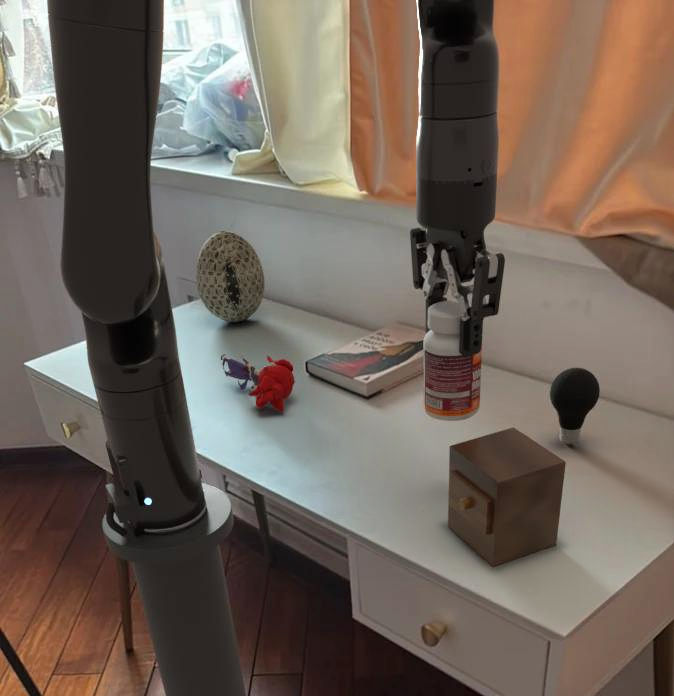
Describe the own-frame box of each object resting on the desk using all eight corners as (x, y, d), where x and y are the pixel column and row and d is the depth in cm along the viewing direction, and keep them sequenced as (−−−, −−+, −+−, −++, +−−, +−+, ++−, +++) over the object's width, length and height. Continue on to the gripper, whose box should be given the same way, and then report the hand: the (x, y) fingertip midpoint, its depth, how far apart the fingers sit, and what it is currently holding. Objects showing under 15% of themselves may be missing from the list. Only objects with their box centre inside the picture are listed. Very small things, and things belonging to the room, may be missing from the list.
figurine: (245, 372, 131) (316, 396, 123) (207, 402, 127) (278, 428, 119) (233, 335, 126) (307, 357, 118) (193, 365, 123) (266, 390, 115)
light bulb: (562, 429, 111) (570, 356, 105) (601, 443, 108) (612, 368, 102) (535, 446, 108) (542, 371, 102) (574, 460, 105) (584, 383, 99)
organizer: (483, 570, 88) (487, 486, 82) (438, 529, 94) (439, 448, 88) (556, 544, 90) (566, 461, 84) (507, 506, 97) (513, 427, 91)
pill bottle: (483, 420, 91) (488, 316, 84) (426, 425, 91) (427, 321, 85) (474, 396, 96) (478, 296, 89) (420, 400, 96) (419, 300, 89)
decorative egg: (207, 335, 147) (192, 245, 138) (200, 314, 156) (186, 227, 147) (273, 326, 148) (263, 236, 139) (262, 305, 158) (252, 219, 148)
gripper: (384, 162, 83) (388, 331, 93) (463, 188, 73) (458, 375, 83) (450, 151, 85) (447, 317, 96) (536, 175, 75) (522, 358, 85)
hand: (452, 343), depth 89 cm, fingers closed on pill bottle, 6 cm apart
